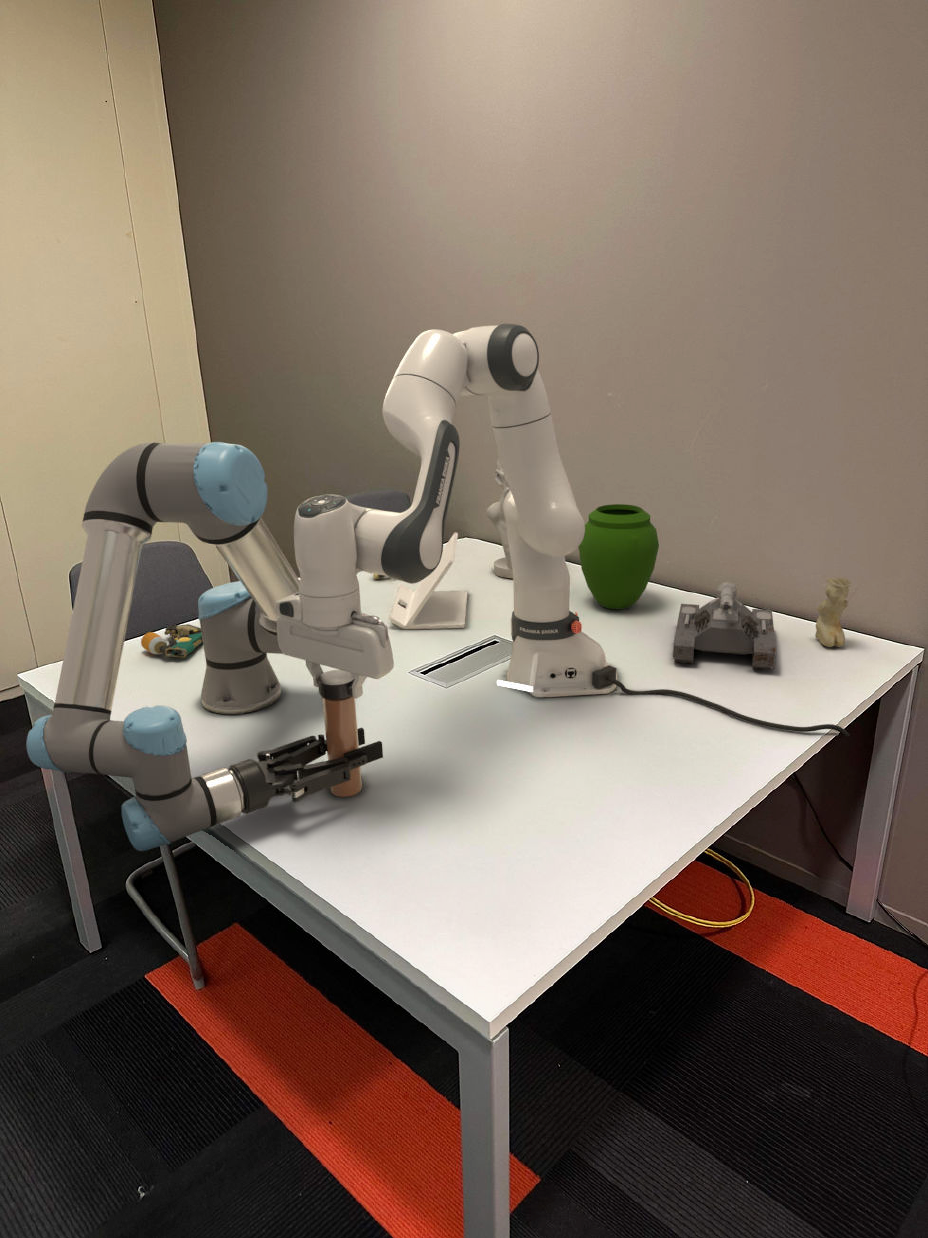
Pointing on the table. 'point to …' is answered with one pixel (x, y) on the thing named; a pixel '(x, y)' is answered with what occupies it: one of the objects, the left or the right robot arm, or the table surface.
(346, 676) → the lid
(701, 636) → the toy
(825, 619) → the sculpture
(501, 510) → the bust sculpture
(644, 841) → the table surface
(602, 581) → the vase
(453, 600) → the tablet stand
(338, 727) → the jar
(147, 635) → the spray gun
